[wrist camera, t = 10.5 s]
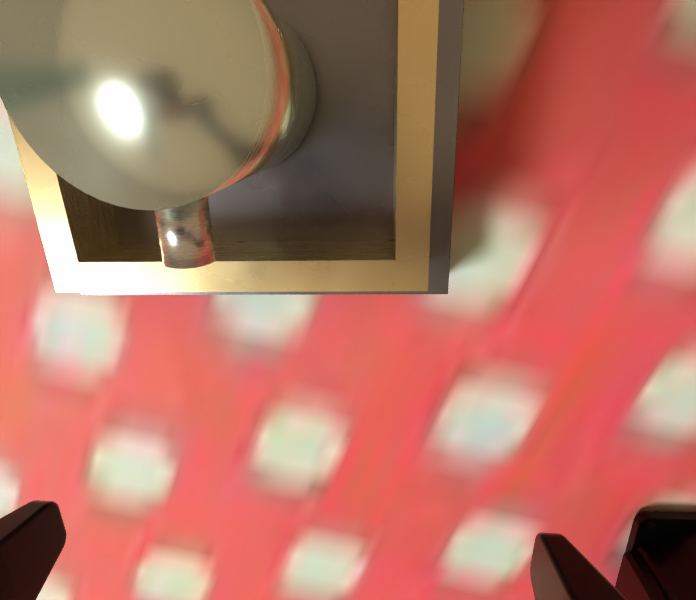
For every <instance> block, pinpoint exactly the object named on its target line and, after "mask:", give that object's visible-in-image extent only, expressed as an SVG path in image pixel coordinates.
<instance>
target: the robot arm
mask: <svg viewBox="0 0 696 600" xmlns="http://www.w3.org/2000/svg"><path fill="white" fill-rule="evenodd" d="M65 541H66V530H65V527H64V523H63V520H62V516H61V513H60V509H59V506H58V505H57V504H56V503H55V502H53V501H40V500H36V501H32V502H30V503H28V504H26V505H24V506H22V507H20V508H19V509H17V510H15V511H13V512H11V513H10V514H8V515H6V516H4V517H2V518H1V519H0V600H36V598H37V596H38V594H39V593H40V591H41V589H42V587H43V585H44V583H45V581H46V579H47V577H48V576H49V574H50V572H51V570H52V568H53V566H54V564H55V562H56V560H57V559H58V557H59V555H60V553H61V551H62V549H63V547H64V544H65ZM530 573H531V582H532V587H533V591H534V596H535V600H696V513H678V512H641V513H639V514H638V515H636V516H635V518H634V521H633V525H632V528H631V532H630V536H629V540H628V544H627V548H626V552H625V553H624V555H623V559H622V563H621V567H620V570H619V574H618V578H617V582H616V586H615V587H614V586H613V585H612V584H611V583H610V582H609V581H608V580H607V579H606V578H605V577H604V576H603V575H602V574H601V573H600V572H599V571H598V570H597V569H596V568H595V567H594V566H593V565H592V564H591V563H590V562H589V561H588V560H587V559H586V558H585V557H584V556H583V555H582V554H581V553H580V552H579V551H578V550H577V549H576V548H575V547H574V546H573V545H572V544H571V543H570V542H569V541H568V540H567V538H565V537H564V536H563V535H561V534H555V533H539V534H537V536H536V539H535V544H534V549H533V555H532V561H531V567H530Z"/></svg>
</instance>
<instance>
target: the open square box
mask: <svg viewBox="0 0 696 600" xmlns="http://www.w3.org/2000/svg"><path fill="white" fill-rule="evenodd" d="M266 1H267V2H268V3H269V4H270V6H271V7H272V8H273V9H274V10H275V11H276V12H277V13H278V14H279V15H280V16H281V17H282V18H283V19H284V20H285V21H286V22H287V24H288V25H289V26H290V27H291V28H292V29H293V30H294V32H295V33H296V34H297V35H298V37H299V38H300V40H301V42H302V43H303V45H304V47H305V49H306V51H307V53H308V55H309V57H310V60H311V63H312V66H313V71H314V75H315V82H316V105H315V111H314V115H313V119H312V123H311V125H310V127H309V130H308V132H307V134H306V136H305V137H304V139H303V141H302V142H301V144H300V145H299V146H298V147H297V149H296V150H295V151H294V152H293V153H292V154H291V155H290V156H288V157H287V158H286V159H284V160H283V161H282V162H280V163H278V164H276V165H274V166H272V167H270V168H268V169H266V170H263V171H261V172H259V173H257V174H255V175H252V176H250V177H248V178H246V179H243V180H241V181H239V182H237V183H235V184H232V185H230V186H228V187H226V188H223V189H221V190H219V191H217V192H215V193H212V194H210V195H208V200H209V209H210V217H211V225H212V234H213V242H214V250H215V258H216V260H215V261H214V262H213V263H211V264H208V265H205V266H201V267H196V268H188V269H174V268H168V267H165V266H164V265H163V260H162V254H161V248H160V242H159V236H158V230H157V224H156V218H155V212H154V210H137V209H130V208H125V207H120V206H116V205H113V204H110V203H107V202H104V201H101V200H99V199H97V198H95V197H93V196H90V195H88V194H86V193H84V192H83V191H81V190H79V189H78V188H76V187H75V186H73V185H71V184H70V183H68V182H67V181H66V180H64V179H63V178H62V177H61V176H59V175H58V174H57V173H55V172H54V171H53V170H52V169H51V168H50V167H49V166H48V165H47V164H46V163H45V162H44V161H43V160H42V159H41V158H40V157H39V156H38V155H37V154H36V153H35V152H34V150H33V149H32V148H31V147H30V146H29V145H28V143H27V142H26V140H25V139H24V138H23V136H22V135H21V133H20V132H19V130H18V129H17V128H16V126H15V124H14V122H13V121H12V119H11V117H10V115H9V114H8V117H9V120H10V124H11V128H12V131H13V135H14V139H15V142H16V146H17V150H18V154H19V157H20V161H21V165H22V168H23V172H24V176H25V179H26V183H27V187H28V190H29V194H30V198H31V201H32V205H33V209H34V213H35V216H36V220H37V224H38V227H39V231H40V235H41V238H42V242H43V246H44V249H45V253H46V257H47V261H48V264H49V268H50V272H51V275H52V279H53V283H54V286H55V290H56V292H81V295H243V294H448V281H449V262H450V244H451V226H452V208H453V190H454V172H455V153H456V135H457V117H458V99H459V81H460V63H461V44H462V26H463V8H464V0H266ZM7 113H8V112H7Z"/></svg>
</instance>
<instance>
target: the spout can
mask: <svg viewBox="0 0 696 600" xmlns="http://www.w3.org/2000/svg"><path fill="white" fill-rule="evenodd" d="M0 97H1V99H2V101H3V103H4V106H5V108H6V110H7V112H8V114H9V115H10V117H11V119H12V121H13V122H14V124H15V126H16V128H17V129H18V130H19V132H20V133H21V135H22V136H23V138H24V139H25V140H26V142H27V143H28V145H29V146H30V147H31V148H32V149H33V150H34V152H35V153H36V154H37V155H38V156H39V157H40V158H41V159H42V160H43V161H44V162H45V163H46V164H47V165H48V166H49V167H50V168H51V169H52V170H53V171H54V172H55V173H57V174H58V175H59V176H61V177H62V178H63V179H64V180H66V181H67V182H68V183H70V184H71V185H73V186H75V187H76V188H78V189H79V190H81V191H83V192H84V193H86V194H88V195H90V196H93V197H95V198H97V199H99V200H101V201H104V202H107V203H110V204H113V205H116V206H120V207H125V208H130V209H137V210H154V212H155V218H156V224H157V230H158V236H159V242H160V248H161V254H162V260H163V265H164V266H165V267H168V268H174V269H188V268H196V267H201V266H205V265H208V264H211V263H213V262H214V261H215V260H216V258H215V250H214V242H213V234H212V225H211V217H210V209H209V200H208V195H210V194H212V193H215V192H217V191H219V190H221V189H223V188H226V187H228V186H230V185H232V184H235V183H237V182H239V181H241V180H243V179H246V178H248V177H250V176H252V175H255V174H257V173H259V172H261V171H263V170H266V169H268V168H270V167H272V166H274V165H276V164H278V163H280V162H282V161H283V160H284V159H286V158H287V157H288V156H290V155H291V154H292V153H293V152H294V151H295V150H296V149H297V147H298V146H299V145H300V144H301V142H302V141H303V139H304V137H305V136H306V134H307V132H308V130H309V127H310V125H311V123H312V119H313V115H314V111H315V105H316V82H315V75H314V71H313V66H312V63H311V60H310V57H309V55H308V53H307V51H306V49H305V47H304V45H303V43H302V42H301V40H300V38H299V37H298V35H297V34H296V33H295V32H294V30H293V29H292V28H291V27H290V26H289V25H288V24H287V22H286V21H285V20H284V19H283V18H282V17H281V16H280V15H279V14H278V13H277V12H276V11H275V10H274V9H273V8H272V7H271V6H270V4H269V3H268V2H267V1H266V0H0Z"/></svg>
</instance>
